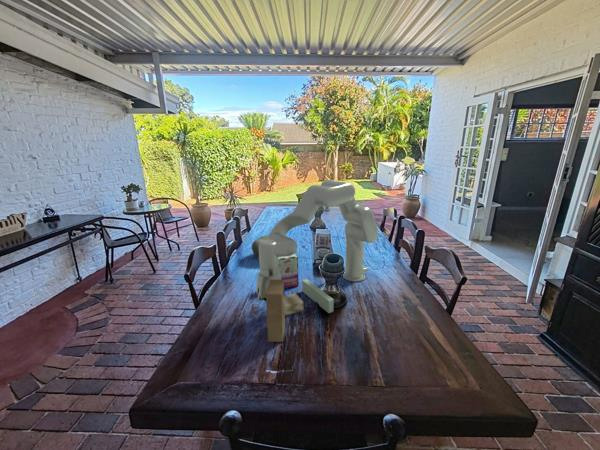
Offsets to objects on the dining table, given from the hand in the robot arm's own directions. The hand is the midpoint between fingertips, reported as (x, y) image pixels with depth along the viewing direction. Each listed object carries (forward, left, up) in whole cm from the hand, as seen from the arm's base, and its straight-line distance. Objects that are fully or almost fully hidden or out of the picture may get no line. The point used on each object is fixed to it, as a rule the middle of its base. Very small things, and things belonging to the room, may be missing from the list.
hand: (270, 309), depth 118 cm
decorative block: (+3, +12, -3) cm, 13 cm away
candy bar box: (-18, -19, -3) cm, 26 cm away
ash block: (-10, 0, -3) cm, 10 cm away
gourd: (-27, -56, -3) cm, 62 cm away
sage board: (-23, +1, -3) cm, 23 cm away
